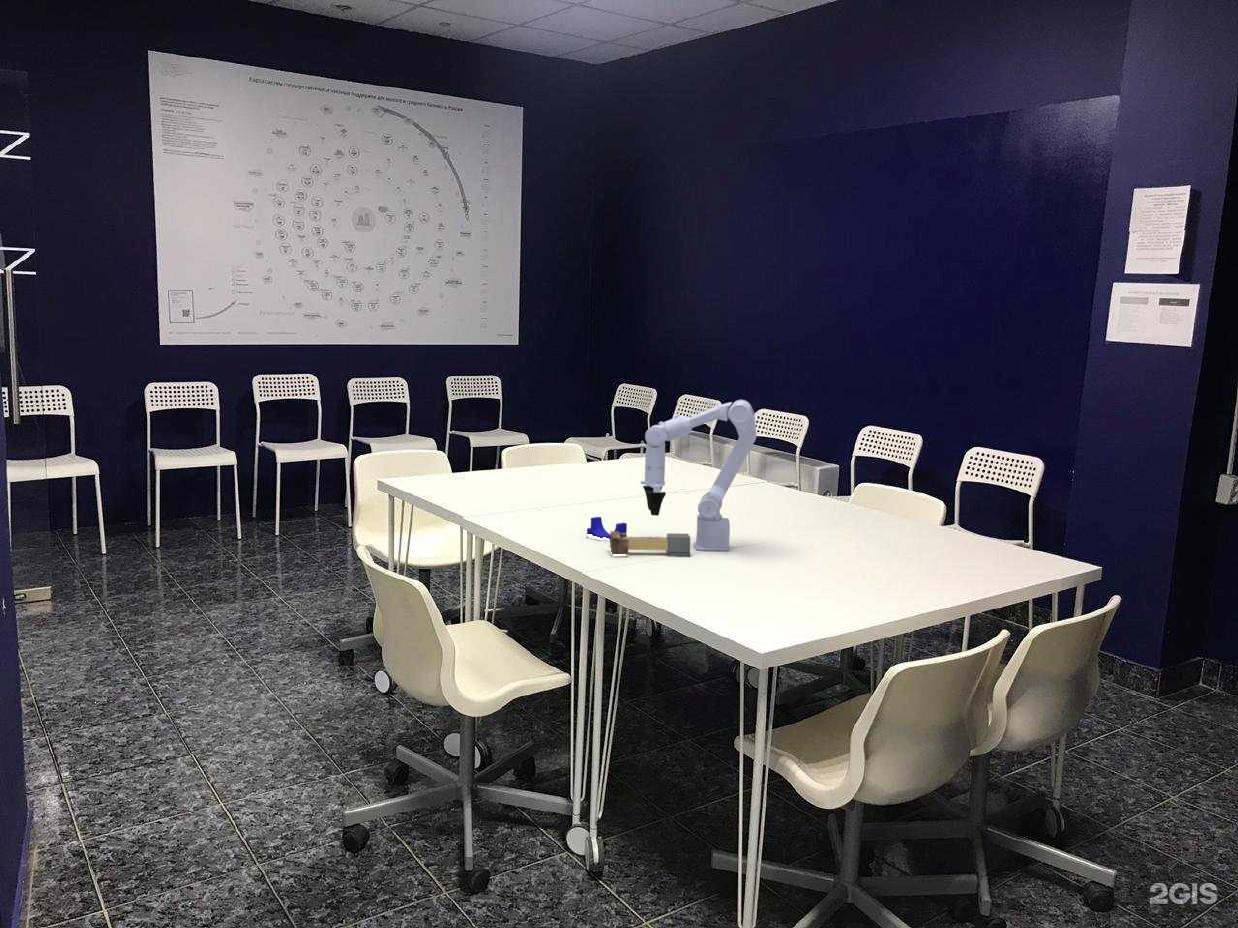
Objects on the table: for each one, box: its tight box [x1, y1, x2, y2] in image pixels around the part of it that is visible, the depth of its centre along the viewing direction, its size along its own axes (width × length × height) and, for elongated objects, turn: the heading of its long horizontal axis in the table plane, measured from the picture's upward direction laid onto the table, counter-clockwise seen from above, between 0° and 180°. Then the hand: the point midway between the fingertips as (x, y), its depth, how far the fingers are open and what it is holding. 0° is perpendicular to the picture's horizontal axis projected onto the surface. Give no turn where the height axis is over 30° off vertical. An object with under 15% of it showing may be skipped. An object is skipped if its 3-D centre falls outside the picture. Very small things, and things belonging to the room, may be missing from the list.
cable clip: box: [586, 516, 628, 539], centre depth 296 cm, size 12×4×6 cm, turn 46°
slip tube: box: [620, 536, 669, 551], centre depth 281 cm, size 14×3×3 cm, turn 94°
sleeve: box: [665, 532, 691, 558], centre depth 282 cm, size 6×6×5 cm
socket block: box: [609, 530, 629, 556], centre depth 280 cm, size 4×8×6 cm, turn 4°
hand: (653, 512), depth 292 cm, fingers open, 7 cm apart
